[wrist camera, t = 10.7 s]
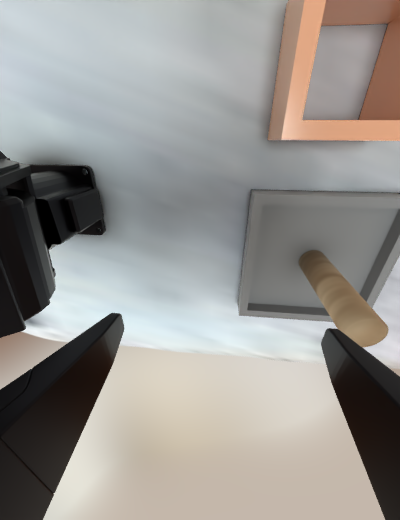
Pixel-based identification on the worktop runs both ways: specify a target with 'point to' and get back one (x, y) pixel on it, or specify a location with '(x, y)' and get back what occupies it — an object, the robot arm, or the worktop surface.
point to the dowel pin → (342, 300)
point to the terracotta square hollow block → (301, 63)
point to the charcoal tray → (315, 248)
